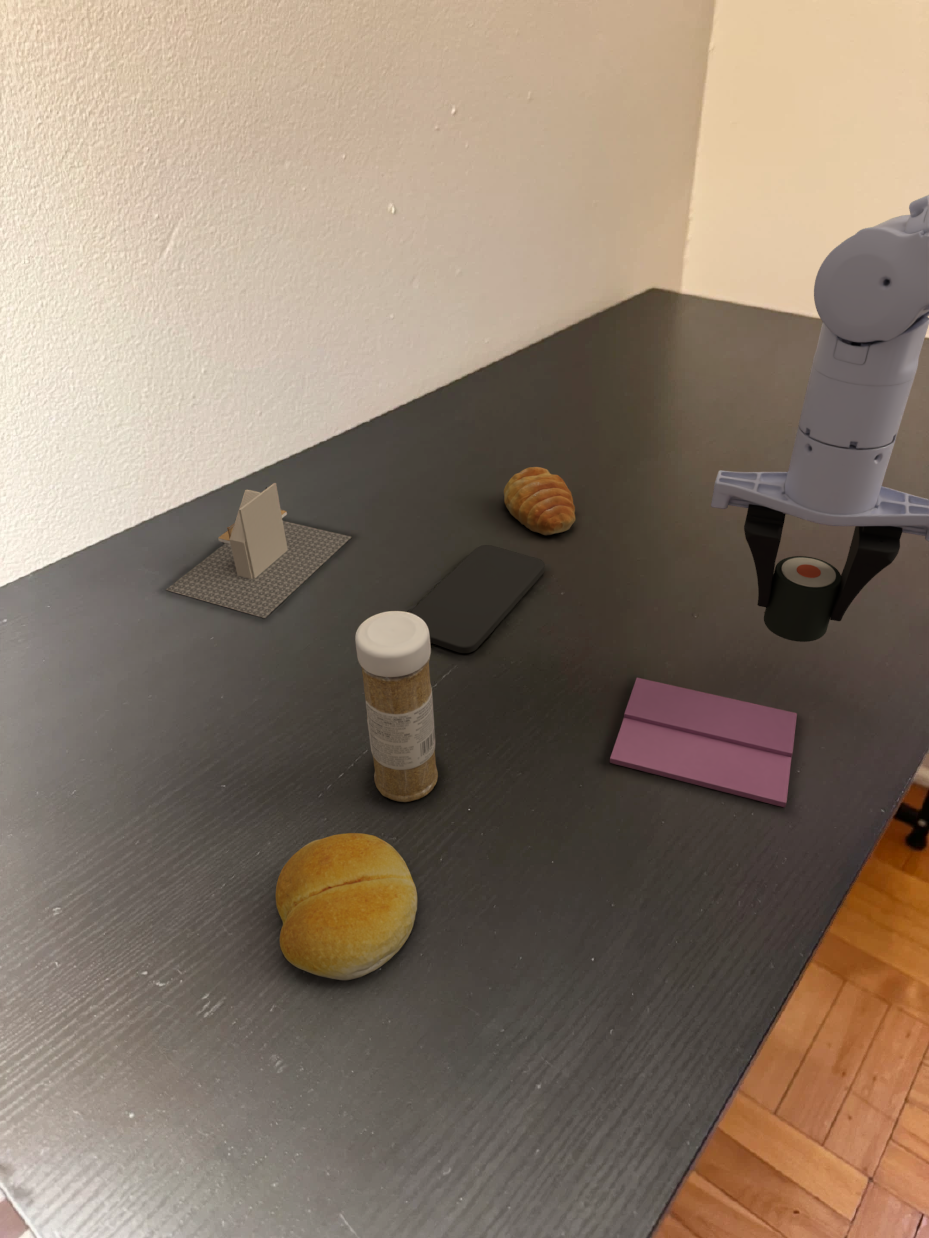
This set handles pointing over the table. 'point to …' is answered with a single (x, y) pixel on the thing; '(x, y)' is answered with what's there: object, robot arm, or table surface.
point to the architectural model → (259, 558)
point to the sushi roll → (802, 598)
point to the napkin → (707, 741)
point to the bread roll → (345, 905)
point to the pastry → (540, 501)
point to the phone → (477, 596)
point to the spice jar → (399, 703)
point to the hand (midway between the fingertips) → (799, 606)
